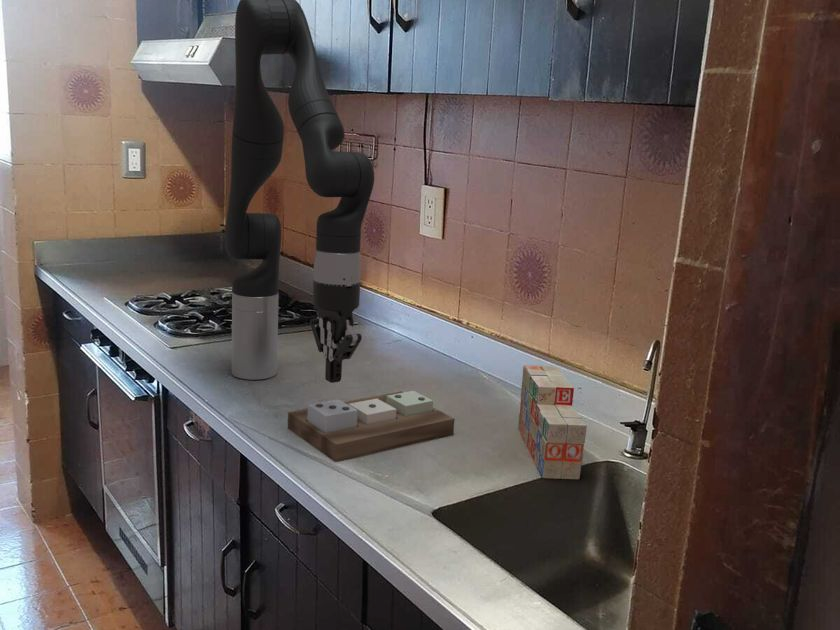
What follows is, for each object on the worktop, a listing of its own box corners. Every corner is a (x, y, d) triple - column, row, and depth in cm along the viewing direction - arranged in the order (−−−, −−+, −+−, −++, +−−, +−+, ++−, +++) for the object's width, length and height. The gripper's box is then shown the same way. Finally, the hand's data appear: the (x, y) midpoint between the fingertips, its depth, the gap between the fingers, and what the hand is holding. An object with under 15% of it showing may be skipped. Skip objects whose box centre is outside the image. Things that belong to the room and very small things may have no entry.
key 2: (385, 412, 146) (386, 394, 145) (412, 407, 149) (413, 389, 148) (404, 423, 141) (406, 405, 140) (432, 417, 145) (433, 399, 144)
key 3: (307, 422, 136) (307, 403, 135) (338, 416, 140) (338, 398, 139) (325, 434, 131) (326, 415, 131) (356, 428, 135) (357, 409, 134)
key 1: (347, 421, 141) (348, 402, 140) (376, 415, 145) (377, 397, 144) (366, 432, 136) (367, 413, 136) (395, 426, 140) (396, 408, 139)
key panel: (287, 428, 140) (288, 412, 139) (400, 406, 154) (401, 391, 153) (335, 462, 128) (336, 444, 127) (453, 434, 142) (454, 418, 141)
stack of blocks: (580, 480, 127) (589, 406, 124) (541, 479, 126) (549, 405, 123) (550, 429, 148) (557, 365, 145) (517, 428, 147) (523, 363, 144)
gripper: (296, 272, 132) (293, 373, 136) (338, 287, 122) (334, 396, 126) (335, 269, 137) (332, 367, 141) (379, 284, 127) (374, 389, 131)
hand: (333, 381), depth 133 cm, fingers closed
